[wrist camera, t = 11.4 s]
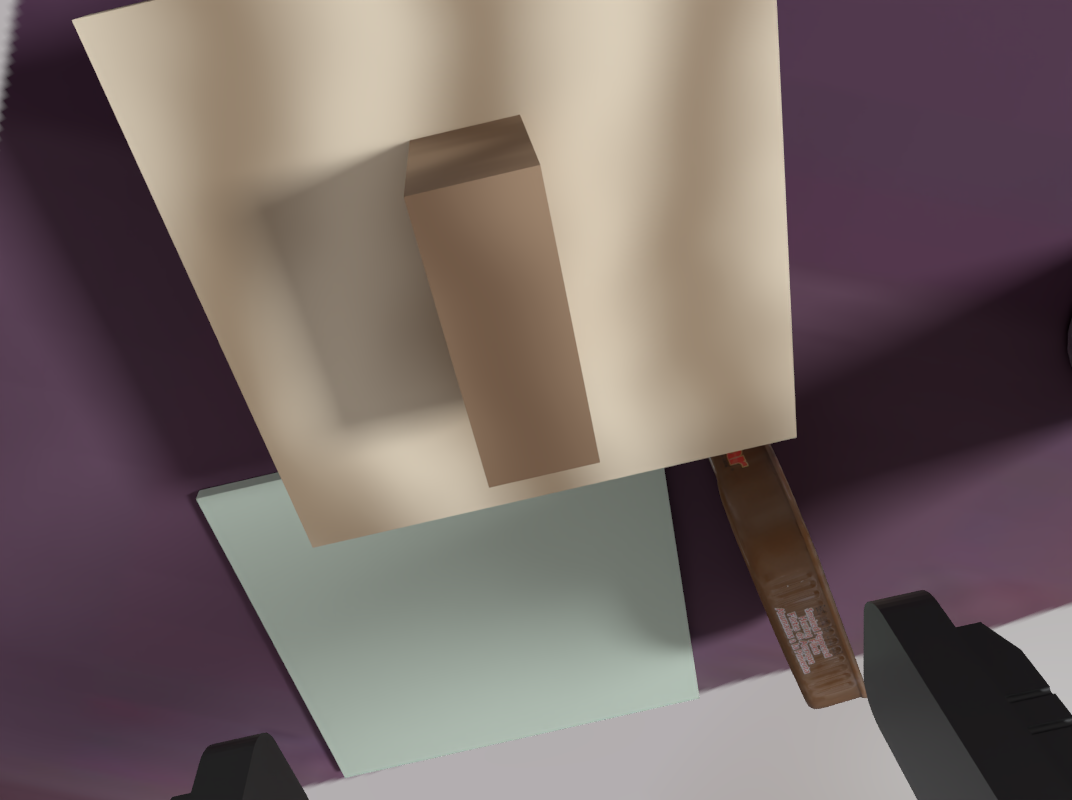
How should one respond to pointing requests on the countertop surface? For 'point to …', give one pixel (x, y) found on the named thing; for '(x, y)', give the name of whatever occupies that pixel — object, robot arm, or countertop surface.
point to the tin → (788, 575)
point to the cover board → (353, 262)
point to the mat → (468, 616)
